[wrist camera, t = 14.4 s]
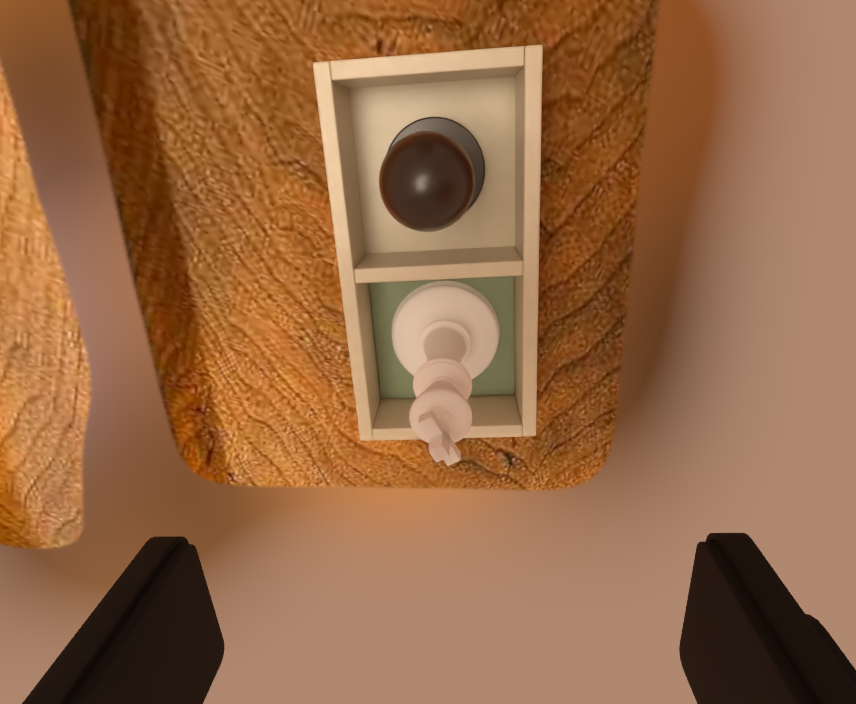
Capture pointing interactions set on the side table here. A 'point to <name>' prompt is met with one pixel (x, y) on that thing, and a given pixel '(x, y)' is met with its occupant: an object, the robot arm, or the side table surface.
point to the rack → (445, 249)
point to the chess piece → (444, 358)
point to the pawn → (431, 174)
